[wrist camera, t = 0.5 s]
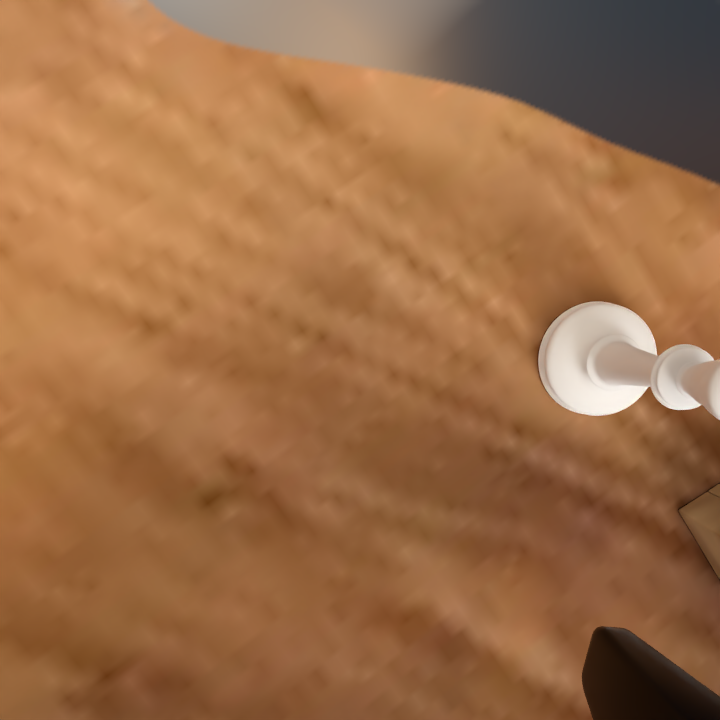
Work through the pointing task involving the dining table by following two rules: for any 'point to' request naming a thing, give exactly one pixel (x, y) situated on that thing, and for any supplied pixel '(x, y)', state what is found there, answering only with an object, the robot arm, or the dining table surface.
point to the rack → (706, 524)
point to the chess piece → (621, 364)
